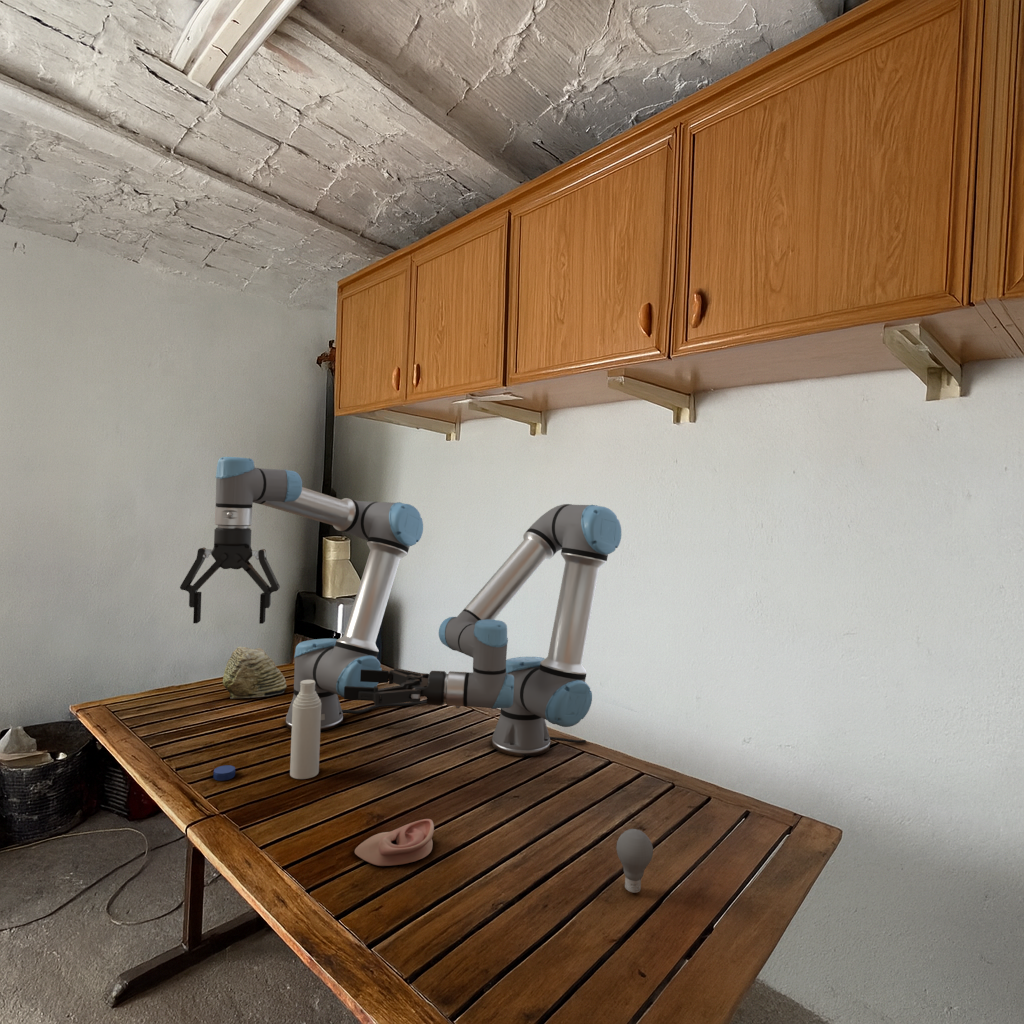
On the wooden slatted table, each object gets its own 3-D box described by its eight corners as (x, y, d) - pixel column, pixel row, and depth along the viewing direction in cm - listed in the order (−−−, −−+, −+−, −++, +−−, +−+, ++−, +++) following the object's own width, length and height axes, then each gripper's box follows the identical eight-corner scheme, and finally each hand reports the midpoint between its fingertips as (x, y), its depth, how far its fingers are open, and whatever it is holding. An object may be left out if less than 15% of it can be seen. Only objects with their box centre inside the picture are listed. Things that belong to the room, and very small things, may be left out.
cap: (213, 774, 142) (213, 766, 142) (234, 771, 144) (235, 763, 144) (213, 782, 138) (213, 774, 138) (235, 779, 140) (236, 771, 140)
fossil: (218, 695, 195) (220, 647, 195) (278, 685, 208) (279, 640, 207) (228, 703, 189) (230, 653, 188) (289, 692, 201) (290, 645, 201)
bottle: (311, 765, 149) (314, 676, 149) (323, 774, 144) (327, 682, 144) (285, 772, 145) (288, 680, 144) (297, 781, 140) (300, 687, 140)
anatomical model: (347, 838, 110) (374, 807, 122) (346, 860, 111) (373, 828, 122) (419, 850, 108) (440, 817, 119) (418, 873, 108) (439, 838, 119)
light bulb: (610, 879, 108) (613, 822, 108) (644, 879, 109) (647, 822, 109) (619, 902, 102) (622, 840, 102) (655, 901, 103) (658, 840, 103)
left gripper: (166, 525, 134) (163, 625, 134) (289, 529, 139) (286, 625, 139) (177, 524, 141) (174, 618, 142) (294, 528, 146) (291, 619, 147)
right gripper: (437, 724, 131) (336, 718, 132) (451, 688, 156) (366, 684, 157) (439, 688, 131) (337, 683, 132) (453, 658, 156) (367, 654, 156)
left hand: (229, 622), depth 141 cm, fingers open, 13 cm apart
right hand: (352, 683), depth 144 cm, fingers open, 13 cm apart
